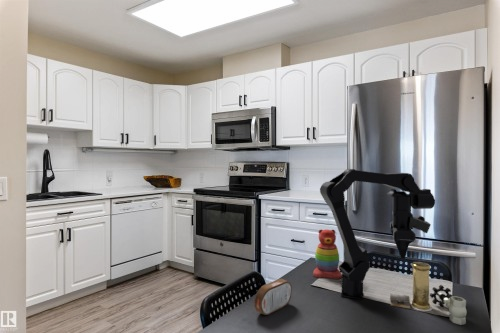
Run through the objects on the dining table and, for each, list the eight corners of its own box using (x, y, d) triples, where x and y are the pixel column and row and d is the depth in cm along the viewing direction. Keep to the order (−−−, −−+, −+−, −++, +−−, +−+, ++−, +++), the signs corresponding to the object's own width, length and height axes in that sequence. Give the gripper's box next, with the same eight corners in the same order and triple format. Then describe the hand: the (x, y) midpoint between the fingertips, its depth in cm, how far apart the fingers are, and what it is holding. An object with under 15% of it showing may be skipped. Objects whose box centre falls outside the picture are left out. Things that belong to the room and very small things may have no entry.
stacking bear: (313, 277, 123) (313, 231, 122) (313, 268, 132) (313, 226, 132) (341, 279, 120) (342, 233, 120) (340, 270, 130) (340, 227, 130)
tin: (286, 300, 103) (286, 274, 102) (293, 303, 100) (293, 277, 100) (253, 316, 92) (253, 287, 92) (261, 320, 90) (261, 291, 90)
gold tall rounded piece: (409, 305, 98) (409, 264, 98) (415, 301, 101) (416, 260, 101) (425, 311, 95) (426, 268, 94) (432, 306, 98) (432, 264, 97)
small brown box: (390, 305, 99) (390, 296, 99) (389, 299, 103) (389, 290, 103) (410, 308, 97) (410, 299, 97) (408, 301, 101) (408, 293, 101)
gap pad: (411, 309, 96) (411, 308, 96) (408, 301, 102) (408, 300, 102) (433, 312, 94) (433, 312, 94) (430, 304, 100) (430, 303, 100)
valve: (474, 326, 87) (451, 306, 99) (474, 302, 86) (452, 285, 98) (448, 325, 87) (429, 305, 99) (449, 301, 87) (429, 284, 99)
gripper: (434, 215, 97) (433, 265, 97) (423, 206, 114) (423, 249, 115) (394, 213, 101) (394, 261, 101) (390, 205, 118) (389, 246, 118)
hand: (401, 254), depth 109 cm, fingers open, 9 cm apart
